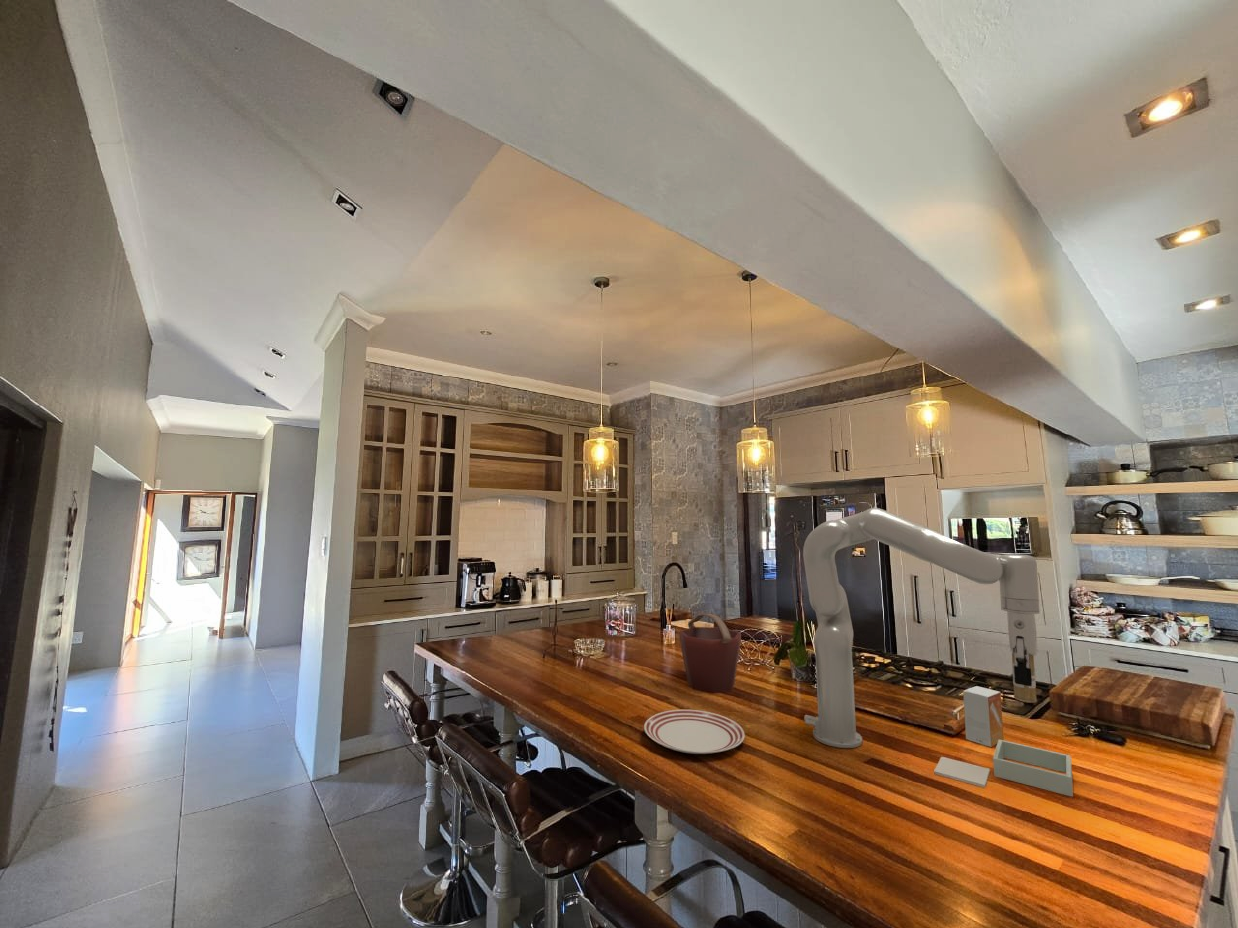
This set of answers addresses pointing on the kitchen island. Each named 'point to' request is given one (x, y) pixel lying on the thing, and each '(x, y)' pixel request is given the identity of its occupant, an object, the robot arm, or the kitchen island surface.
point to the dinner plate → (694, 731)
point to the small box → (983, 715)
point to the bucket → (710, 655)
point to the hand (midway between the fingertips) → (1024, 681)
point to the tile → (962, 771)
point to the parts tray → (1033, 774)
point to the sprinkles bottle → (1024, 691)
